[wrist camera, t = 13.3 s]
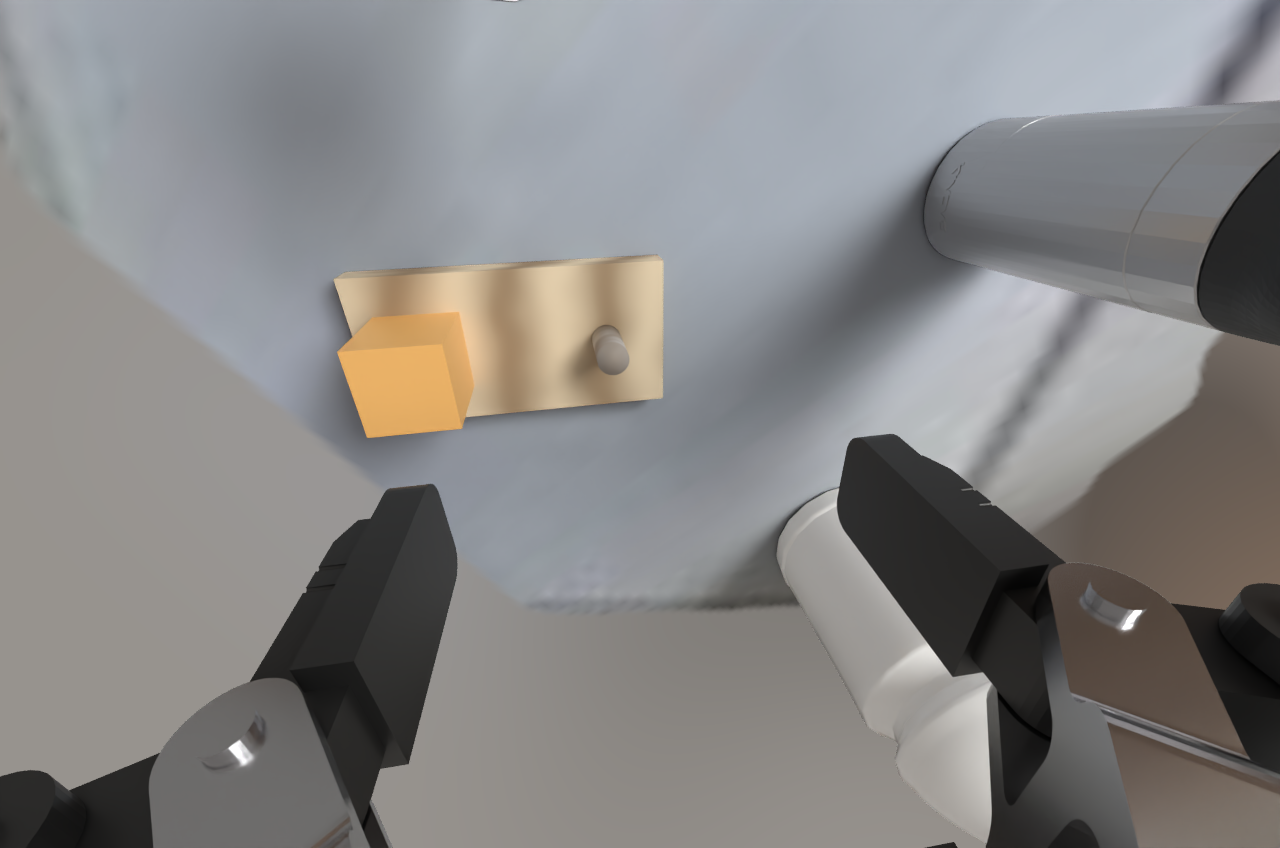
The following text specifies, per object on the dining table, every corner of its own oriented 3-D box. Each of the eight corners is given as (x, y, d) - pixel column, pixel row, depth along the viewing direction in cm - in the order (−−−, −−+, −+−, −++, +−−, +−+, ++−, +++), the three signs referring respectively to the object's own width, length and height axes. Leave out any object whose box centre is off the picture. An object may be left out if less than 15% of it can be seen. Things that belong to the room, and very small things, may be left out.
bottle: (747, 566, 50) (934, 949, 26) (828, 463, 45) (1152, 819, 21) (844, 594, 55) (1075, 936, 31) (926, 504, 50) (1277, 829, 26)
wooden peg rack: (657, 254, 33) (677, 274, 28) (657, 386, 38) (675, 423, 33) (345, 271, 30) (304, 296, 25) (389, 411, 35) (363, 456, 30)
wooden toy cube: (459, 311, 31) (442, 344, 26) (474, 385, 33) (462, 428, 28) (372, 317, 30) (336, 352, 25) (395, 392, 33) (367, 438, 28)
